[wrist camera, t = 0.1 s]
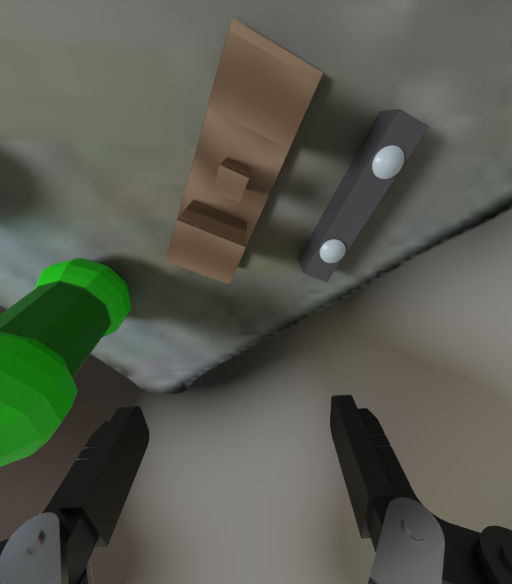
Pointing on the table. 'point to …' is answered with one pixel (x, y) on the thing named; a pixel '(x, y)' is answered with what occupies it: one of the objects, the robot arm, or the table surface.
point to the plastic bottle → (52, 348)
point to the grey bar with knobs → (361, 190)
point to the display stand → (239, 150)
